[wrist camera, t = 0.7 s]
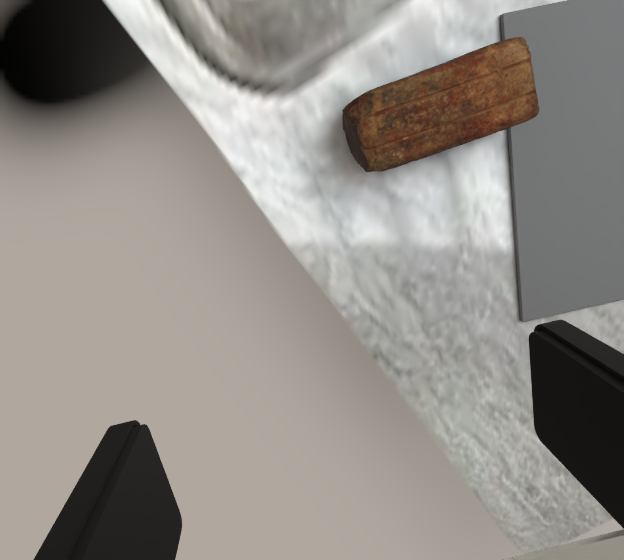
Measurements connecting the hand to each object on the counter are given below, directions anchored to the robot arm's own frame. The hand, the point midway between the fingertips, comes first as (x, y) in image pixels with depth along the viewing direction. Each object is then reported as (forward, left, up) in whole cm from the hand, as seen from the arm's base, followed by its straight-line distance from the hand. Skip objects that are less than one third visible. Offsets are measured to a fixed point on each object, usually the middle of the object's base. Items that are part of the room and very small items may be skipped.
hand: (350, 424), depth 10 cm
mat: (-24, -1, -21) cm, 32 cm away
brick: (-8, -3, -17) cm, 19 cm away
